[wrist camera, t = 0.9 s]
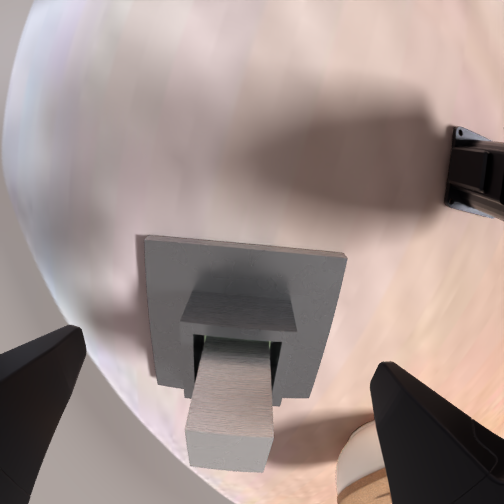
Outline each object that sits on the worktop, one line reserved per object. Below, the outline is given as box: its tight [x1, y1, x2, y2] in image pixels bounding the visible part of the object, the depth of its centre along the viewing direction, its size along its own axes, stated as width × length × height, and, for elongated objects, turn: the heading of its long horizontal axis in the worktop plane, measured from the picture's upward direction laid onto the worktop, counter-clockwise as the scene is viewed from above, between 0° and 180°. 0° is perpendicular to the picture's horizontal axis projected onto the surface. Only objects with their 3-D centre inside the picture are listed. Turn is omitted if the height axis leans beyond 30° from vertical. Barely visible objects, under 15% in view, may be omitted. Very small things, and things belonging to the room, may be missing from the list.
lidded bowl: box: [336, 420, 392, 504], centre depth 23 cm, size 13×13×11 cm
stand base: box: [144, 235, 347, 406], centre depth 20 cm, size 14×14×5 cm
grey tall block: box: [185, 335, 274, 473], centre depth 17 cm, size 4×5×10 cm
